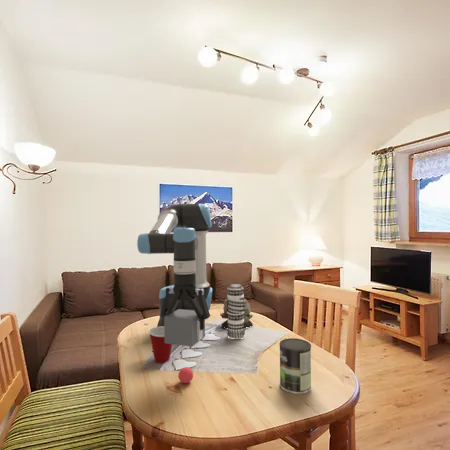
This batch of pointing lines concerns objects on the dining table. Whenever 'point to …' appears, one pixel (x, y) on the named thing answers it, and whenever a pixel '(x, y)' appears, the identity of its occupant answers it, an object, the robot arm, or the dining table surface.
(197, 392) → the dining table surface
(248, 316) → the owl figurine
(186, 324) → the grey cube
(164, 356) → the plastic cup
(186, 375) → the ball
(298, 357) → the coffee can
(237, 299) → the decorative candle
